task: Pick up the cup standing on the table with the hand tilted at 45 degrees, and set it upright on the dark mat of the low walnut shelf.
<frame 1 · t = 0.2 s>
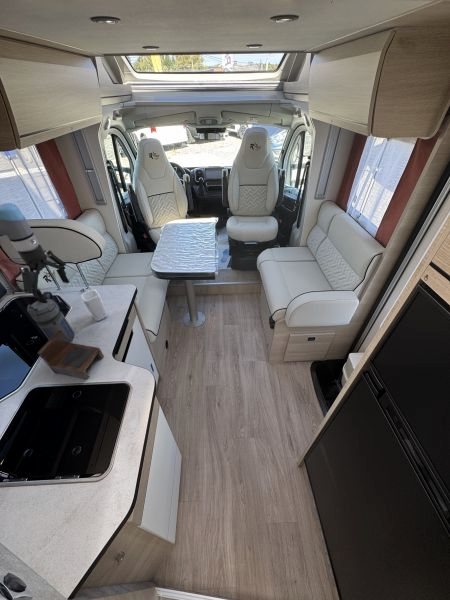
hand: (55, 291, 107), 25 cm above the worktop, tool pointing down, fingers open, 13 cm apart
shelf: (79, 364, 110), on the worktop
beverage bottle: (65, 337, 122), on the worktop
cup: (100, 317, 132), on the worktop
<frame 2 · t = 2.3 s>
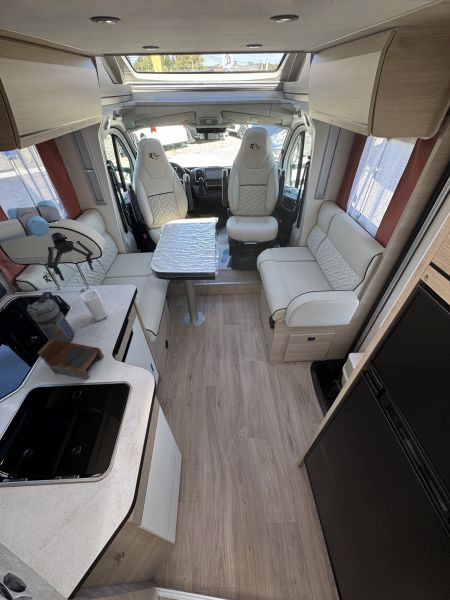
hand: (77, 275, 122), 22 cm above the worktop, tool tilted 40°, fingers open, 13 cm apart
nothing on the worktop moved.
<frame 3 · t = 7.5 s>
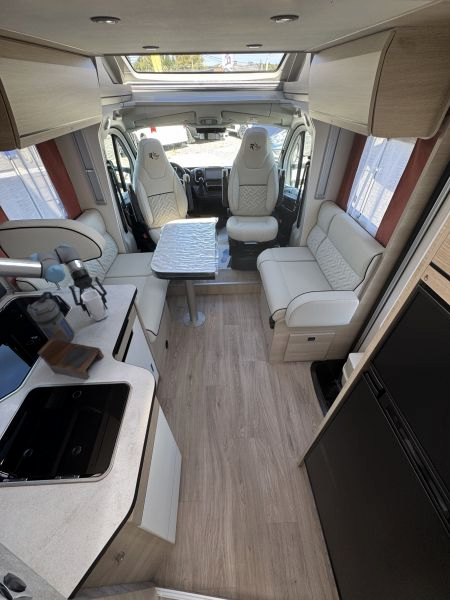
hand: (98, 312, 126), 6 cm above the worktop, tool tilted 45°, fingers closed on cup, 8 cm apart
cup: (100, 317, 132), on the worktop, touching gripper
everything else where it was.
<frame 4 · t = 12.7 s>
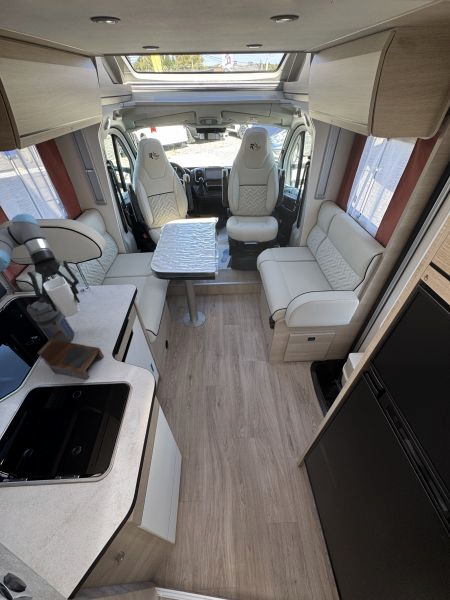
hand: (67, 306, 99), 26 cm above the worktop, tool tilted 45°, fingers closed on cup, 8 cm apart
cup: (71, 312, 105), point 20 cm above the worktop, touching gripper
everything else where it was.
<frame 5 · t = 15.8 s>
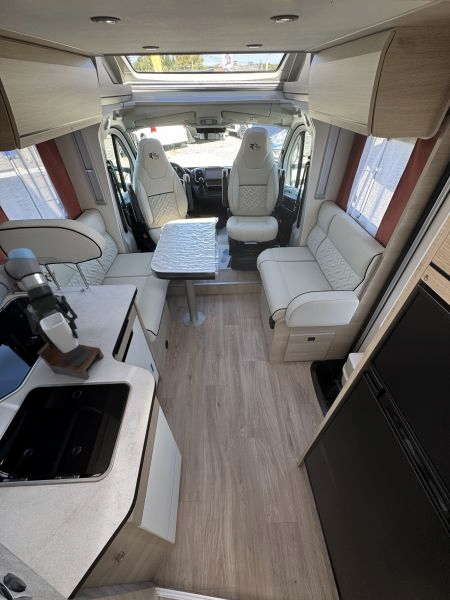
hand: (65, 343, 95), 18 cm above the worktop, tool tilted 45°, fingers closed on cup, 8 cm apart
cup: (70, 346, 101), point 13 cm above the worktop, touching gripper
everything else where it was.
when the fingers open (12 cm above the worktop, at t = 18.0 s): cup stays where it is, resting on shelf.
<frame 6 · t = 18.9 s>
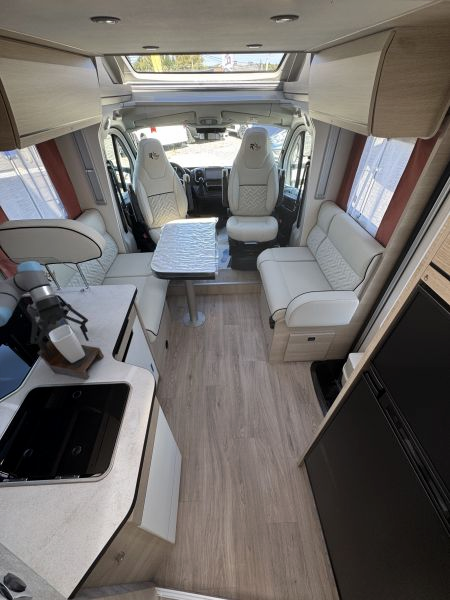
hand: (69, 348, 99), 14 cm above the worktop, tool tilted 45°, fingers open, 13 cm apart
cup: (77, 356, 105), point 6 cm above the worktop, touching shelf
everything else where it was.
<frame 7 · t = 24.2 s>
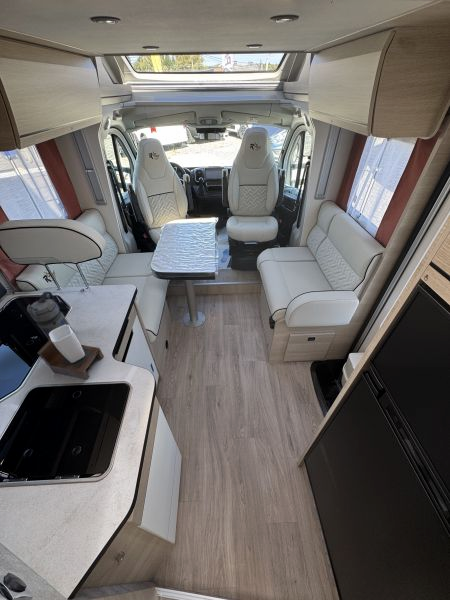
nothing on the worktop moved.
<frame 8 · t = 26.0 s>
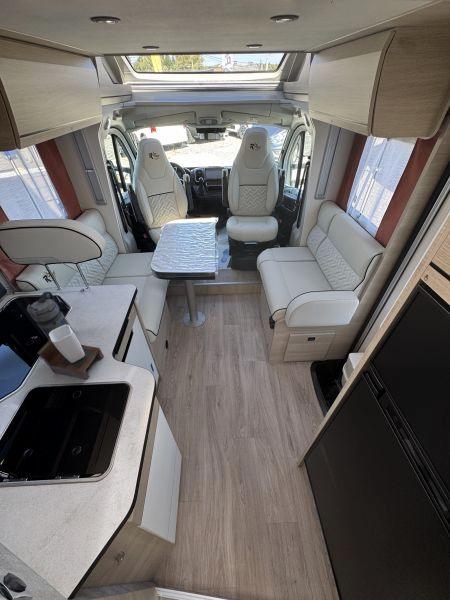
nothing on the worktop moved.
at the end: cup inside the target area on the shelf (0.0 cm from its centre), point 6.0 cm above the shelf's base; cup tilted 0°; the gripper is holding nothing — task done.
